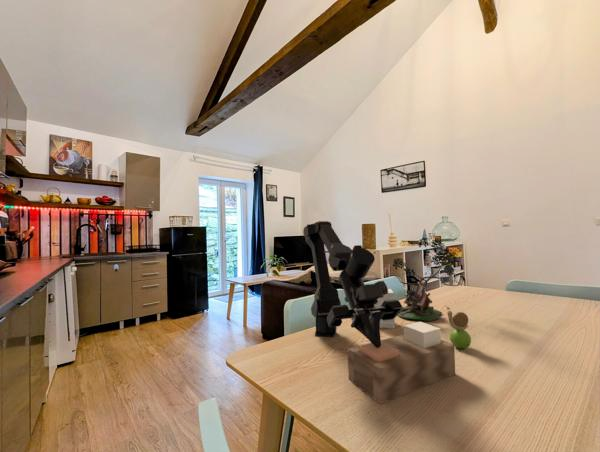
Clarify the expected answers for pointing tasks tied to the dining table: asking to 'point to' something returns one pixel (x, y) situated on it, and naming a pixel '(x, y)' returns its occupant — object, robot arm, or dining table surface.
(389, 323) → the supplement box
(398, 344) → the brown striped box
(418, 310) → the bonsai tree
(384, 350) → the salmon pink block
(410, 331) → the white box
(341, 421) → the dining table surface
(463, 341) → the snail figurine
